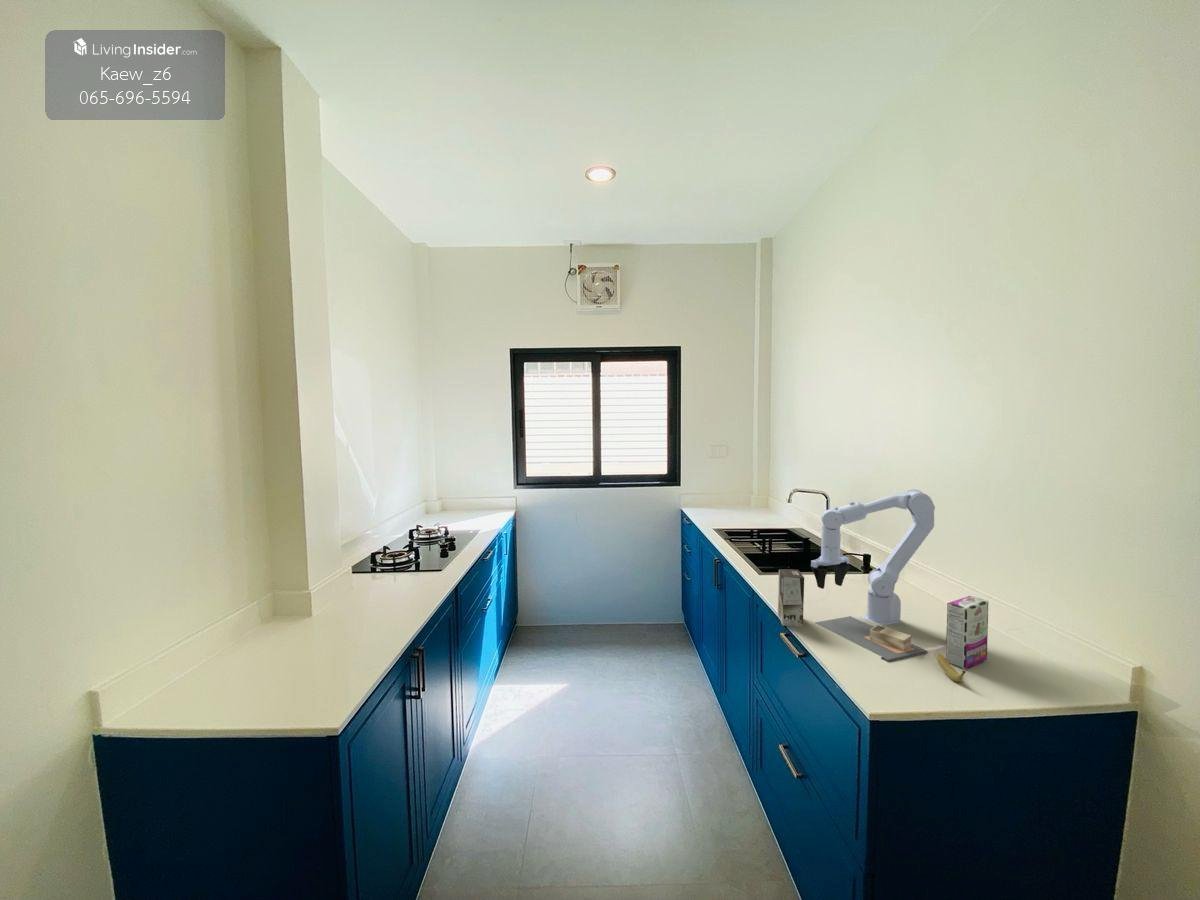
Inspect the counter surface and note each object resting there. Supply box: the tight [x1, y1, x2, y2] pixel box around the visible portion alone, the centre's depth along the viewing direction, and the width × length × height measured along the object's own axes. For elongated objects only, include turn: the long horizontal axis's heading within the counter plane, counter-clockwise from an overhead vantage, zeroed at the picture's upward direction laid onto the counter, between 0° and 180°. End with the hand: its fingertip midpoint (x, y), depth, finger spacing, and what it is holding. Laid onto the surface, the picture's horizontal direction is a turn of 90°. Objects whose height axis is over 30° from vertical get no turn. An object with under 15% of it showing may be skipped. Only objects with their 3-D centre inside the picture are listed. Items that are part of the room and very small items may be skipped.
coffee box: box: [777, 568, 805, 628], centre depth 157 cm, size 9×6×16 cm
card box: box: [870, 624, 912, 651], centre depth 141 cm, size 9×5×3 cm, turn 38°
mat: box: [814, 615, 928, 663], centre depth 146 cm, size 15×26×1 cm, turn 20°
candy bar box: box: [945, 595, 989, 670], centre depth 131 cm, size 11×5×16 cm, turn 117°
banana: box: [935, 652, 967, 683], centre depth 123 cm, size 10×2×4 cm, turn 177°
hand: (829, 586), depth 163 cm, fingers open, 7 cm apart
